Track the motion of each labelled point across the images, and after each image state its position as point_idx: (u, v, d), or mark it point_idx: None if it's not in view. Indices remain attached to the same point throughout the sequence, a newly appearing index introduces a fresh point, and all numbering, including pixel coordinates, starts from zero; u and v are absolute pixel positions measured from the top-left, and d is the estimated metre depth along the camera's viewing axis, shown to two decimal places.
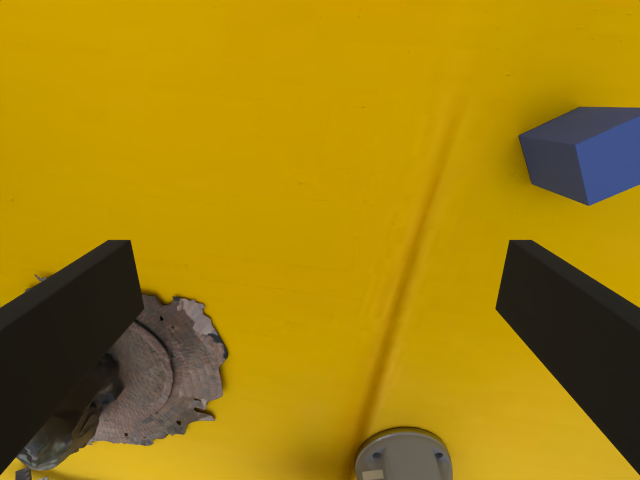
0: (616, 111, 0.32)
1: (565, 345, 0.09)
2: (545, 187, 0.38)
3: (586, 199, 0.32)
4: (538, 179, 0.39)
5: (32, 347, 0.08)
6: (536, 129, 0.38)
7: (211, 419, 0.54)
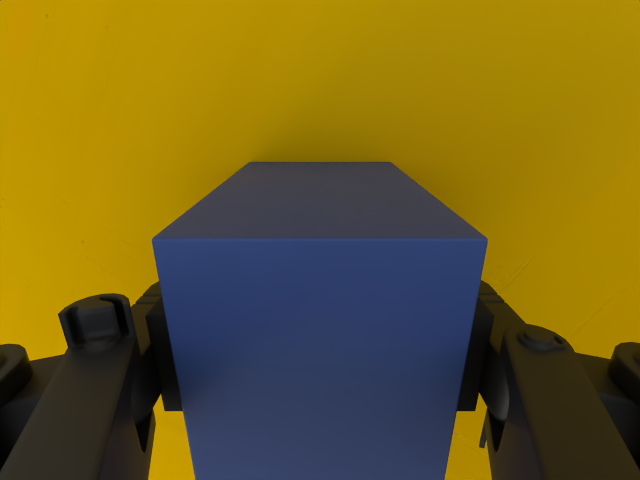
0: None
1: None
2: None
3: None
4: None
5: None
6: None
7: None
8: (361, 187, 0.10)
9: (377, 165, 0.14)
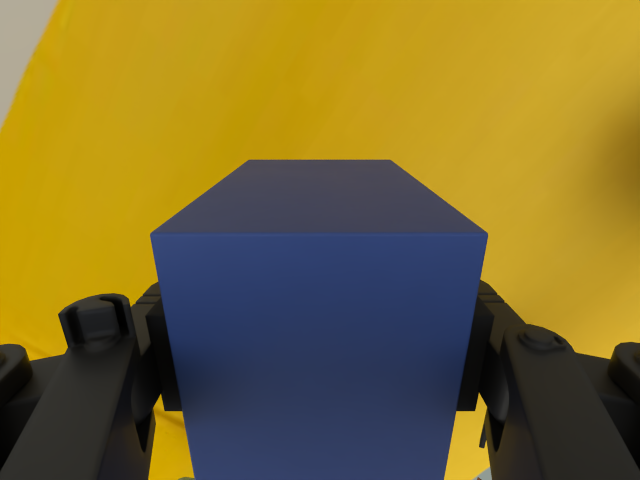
0: None
1: None
2: None
3: None
4: None
5: None
6: None
7: None
8: (361, 184, 0.10)
9: (377, 162, 0.14)
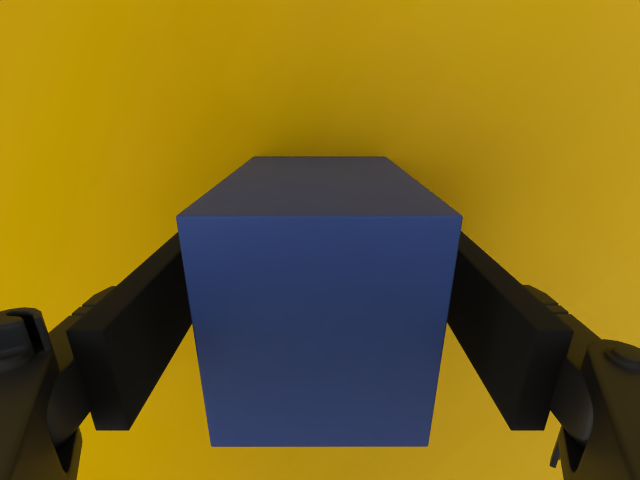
0: None
1: (466, 316, 0.10)
2: None
3: (404, 442, 0.10)
4: None
5: (151, 314, 0.09)
6: None
7: None
8: (357, 177, 0.11)
9: (372, 159, 0.15)
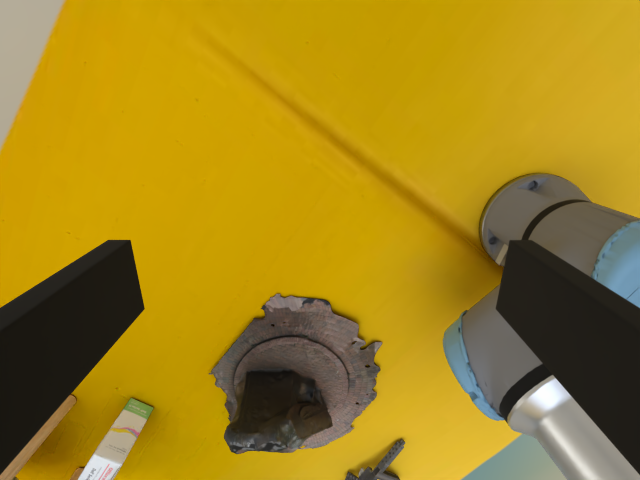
0: None
1: (565, 345, 0.09)
2: None
3: None
4: None
5: (33, 347, 0.08)
6: None
7: (380, 344, 0.62)
8: None
9: None
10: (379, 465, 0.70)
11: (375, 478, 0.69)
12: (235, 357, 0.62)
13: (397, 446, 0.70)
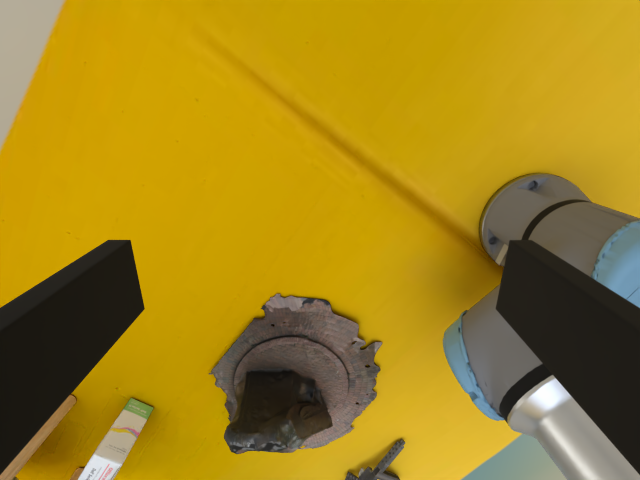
0: None
1: (565, 345, 0.09)
2: None
3: None
4: None
5: (33, 347, 0.08)
6: None
7: (380, 344, 0.62)
8: None
9: None
10: (379, 465, 0.70)
11: (375, 478, 0.69)
12: (235, 357, 0.62)
13: (397, 446, 0.70)
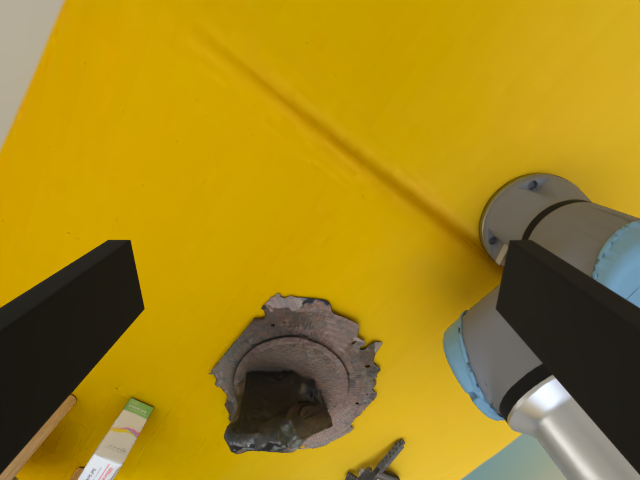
0: None
1: (565, 345, 0.09)
2: None
3: None
4: None
5: (33, 347, 0.08)
6: None
7: (380, 344, 0.62)
8: None
9: None
10: (379, 465, 0.70)
11: (375, 478, 0.69)
12: (235, 357, 0.62)
13: (397, 446, 0.70)
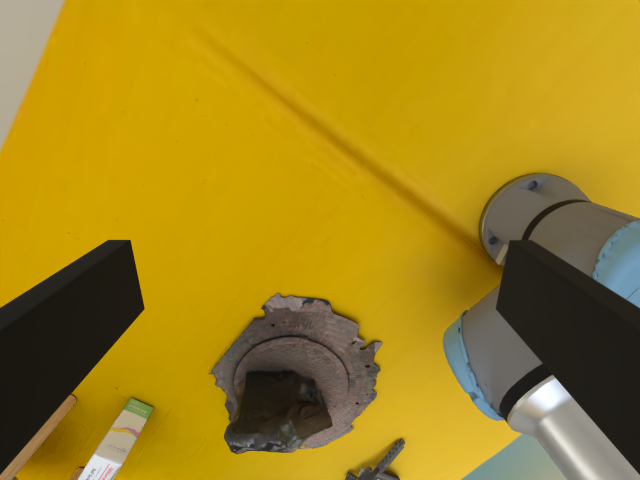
0: None
1: (565, 345, 0.09)
2: None
3: None
4: None
5: (33, 347, 0.08)
6: None
7: (380, 344, 0.62)
8: None
9: None
10: (379, 465, 0.70)
11: (375, 478, 0.69)
12: (235, 357, 0.62)
13: (397, 446, 0.70)
